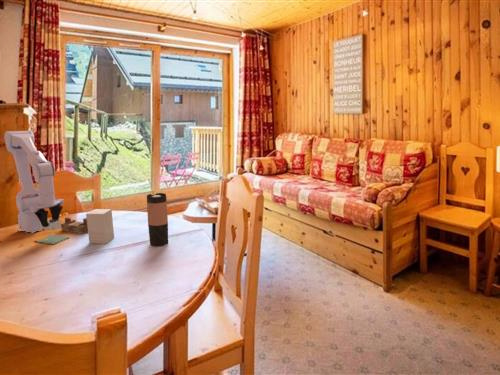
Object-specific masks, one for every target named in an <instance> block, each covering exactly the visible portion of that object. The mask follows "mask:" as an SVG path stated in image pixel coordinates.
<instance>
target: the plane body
mask: <svg viewBox="0 0 500 375" xmlns="http://www.w3.org/2000/svg"><path fill="white" fill-rule="evenodd" d="M60 229H61V231H62V230H67V231H66V232H69V231H72V232H71V233H77V232H78V234H84V233H85V234H88V233H87V232H88V226H87V217H85V218H82V222H81V221H77V220H76V219H72V218H71V217H64V222H63V223H61V228H60Z"/></svg>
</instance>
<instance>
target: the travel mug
mask: <svg viewBox="0 0 500 375" xmlns="http://www.w3.org/2000/svg"><path fill="white" fill-rule="evenodd" d="M167 202H168V200H167V194H166V193H162V192H156V194H151V193H149V194H146V208H147V226H148V237H149V238H148V239H149V245H150V246H152V247H163V246H166V245H168V243H169V223H168V222H169V221H168V220H169V219H168V218H169V217H168V203H167Z"/></svg>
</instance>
